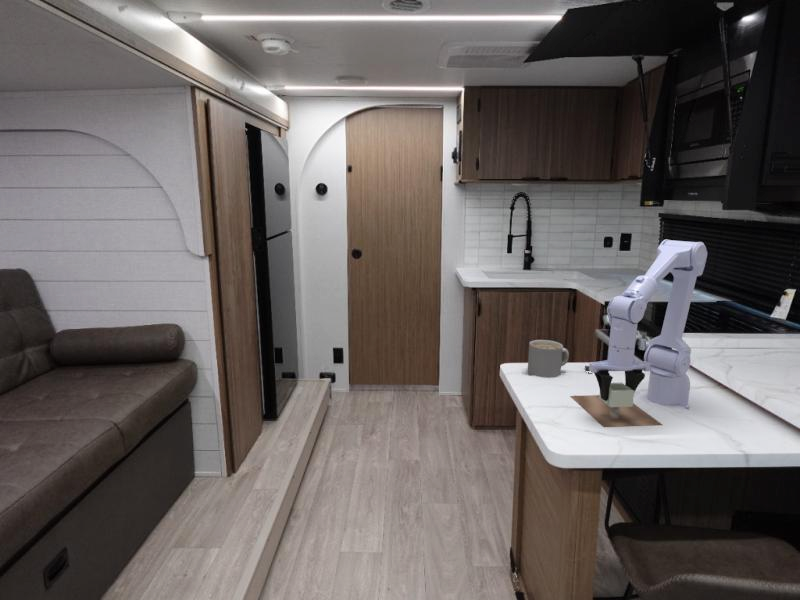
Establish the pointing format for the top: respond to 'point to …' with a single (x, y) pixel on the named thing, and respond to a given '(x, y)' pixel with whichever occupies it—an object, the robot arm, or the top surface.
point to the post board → (605, 413)
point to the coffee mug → (546, 358)
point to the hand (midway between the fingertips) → (616, 398)
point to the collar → (619, 396)
